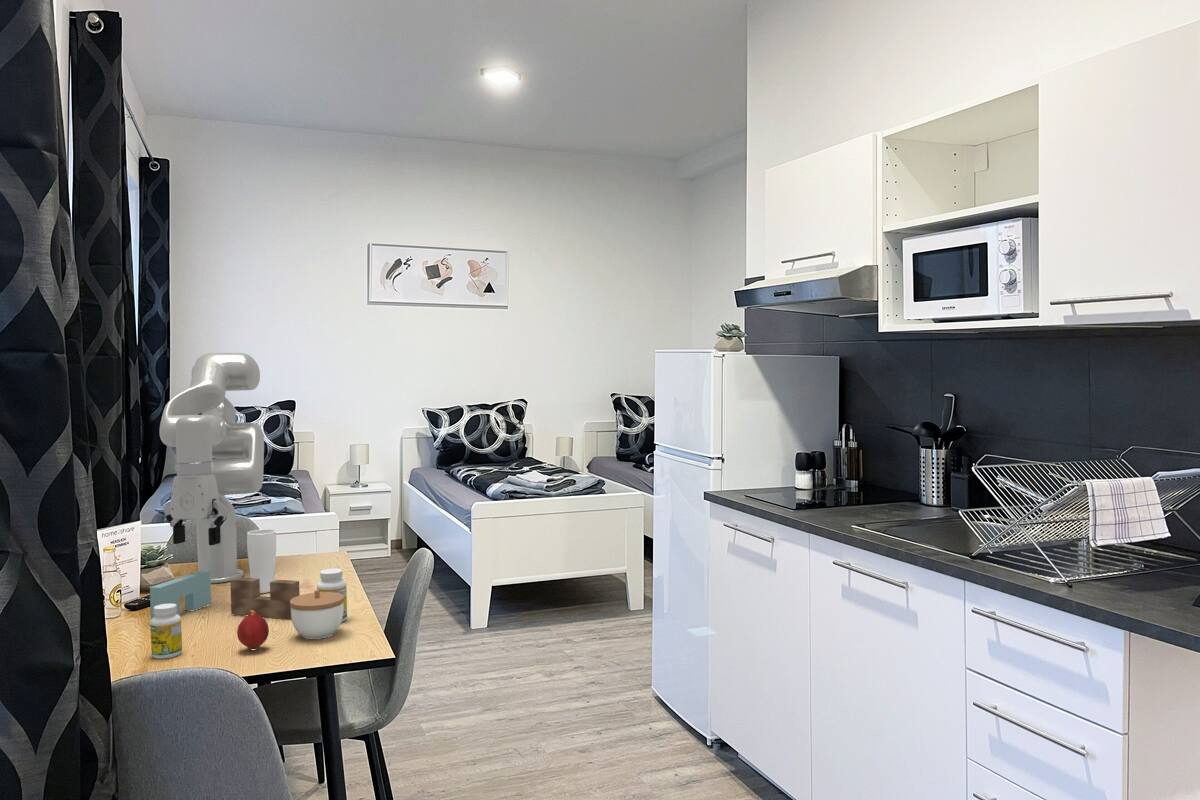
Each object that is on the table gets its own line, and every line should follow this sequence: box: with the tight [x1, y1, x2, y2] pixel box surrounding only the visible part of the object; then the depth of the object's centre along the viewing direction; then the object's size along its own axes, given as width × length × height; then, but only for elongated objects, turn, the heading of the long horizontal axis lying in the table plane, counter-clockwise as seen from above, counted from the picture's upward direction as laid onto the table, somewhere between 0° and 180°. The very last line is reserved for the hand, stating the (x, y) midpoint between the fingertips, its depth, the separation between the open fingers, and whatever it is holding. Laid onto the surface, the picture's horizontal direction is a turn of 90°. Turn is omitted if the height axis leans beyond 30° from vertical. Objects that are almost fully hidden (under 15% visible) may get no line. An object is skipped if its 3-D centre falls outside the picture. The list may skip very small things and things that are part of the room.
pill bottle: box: [316, 568, 348, 623], centre depth 193 cm, size 6×6×11 cm
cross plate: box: [149, 570, 212, 621], centre depth 200 cm, size 16×2×8 cm, turn 165°
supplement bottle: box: [149, 604, 183, 660], centre depth 171 cm, size 5×5×10 cm
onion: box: [236, 610, 270, 650], centre depth 173 cm, size 6×6×8 cm
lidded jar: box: [290, 589, 344, 640], centre depth 182 cm, size 11×11×9 cm
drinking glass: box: [246, 528, 277, 594], centre depth 218 cm, size 7×7×15 cm
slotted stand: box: [229, 576, 301, 620], centre depth 197 cm, size 16×2×8 cm, turn 75°
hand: (196, 543), depth 204 cm, fingers open, 9 cm apart
